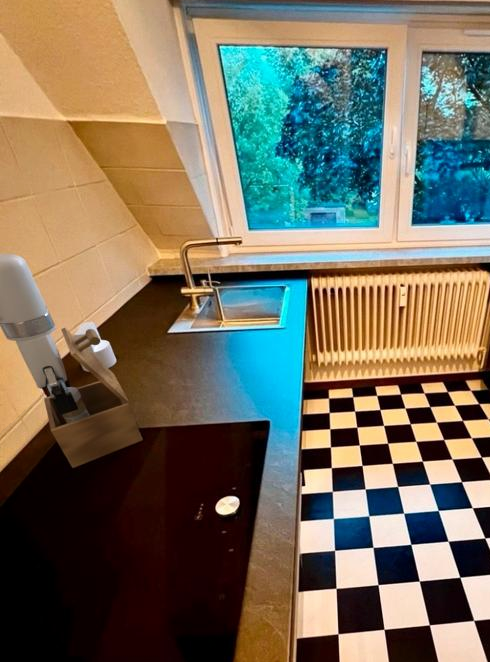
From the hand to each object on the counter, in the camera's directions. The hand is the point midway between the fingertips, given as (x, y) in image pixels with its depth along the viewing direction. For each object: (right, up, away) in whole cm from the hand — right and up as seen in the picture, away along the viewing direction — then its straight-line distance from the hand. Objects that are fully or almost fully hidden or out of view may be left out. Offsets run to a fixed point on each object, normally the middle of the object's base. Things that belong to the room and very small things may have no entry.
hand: (65, 400), depth 80 cm
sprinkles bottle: (+1, -10, +7) cm, 12 cm away
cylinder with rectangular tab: (-18, +9, +37) cm, 43 cm away
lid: (+5, +7, +1) cm, 9 cm away
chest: (+2, -9, +8) cm, 13 cm away
